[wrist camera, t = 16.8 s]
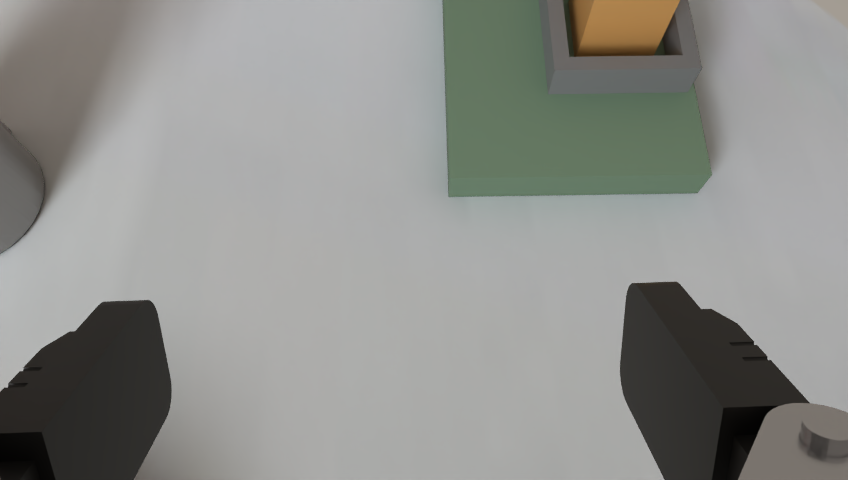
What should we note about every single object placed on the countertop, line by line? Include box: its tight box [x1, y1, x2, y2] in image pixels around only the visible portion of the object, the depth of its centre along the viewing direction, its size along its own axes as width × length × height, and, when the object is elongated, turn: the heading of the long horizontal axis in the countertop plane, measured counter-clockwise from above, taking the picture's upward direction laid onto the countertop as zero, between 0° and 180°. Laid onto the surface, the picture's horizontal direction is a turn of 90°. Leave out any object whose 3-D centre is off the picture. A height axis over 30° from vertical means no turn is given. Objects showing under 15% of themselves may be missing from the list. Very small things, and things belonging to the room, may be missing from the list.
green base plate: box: [443, 0, 712, 197], centre depth 46 cm, size 22×16×5 cm
